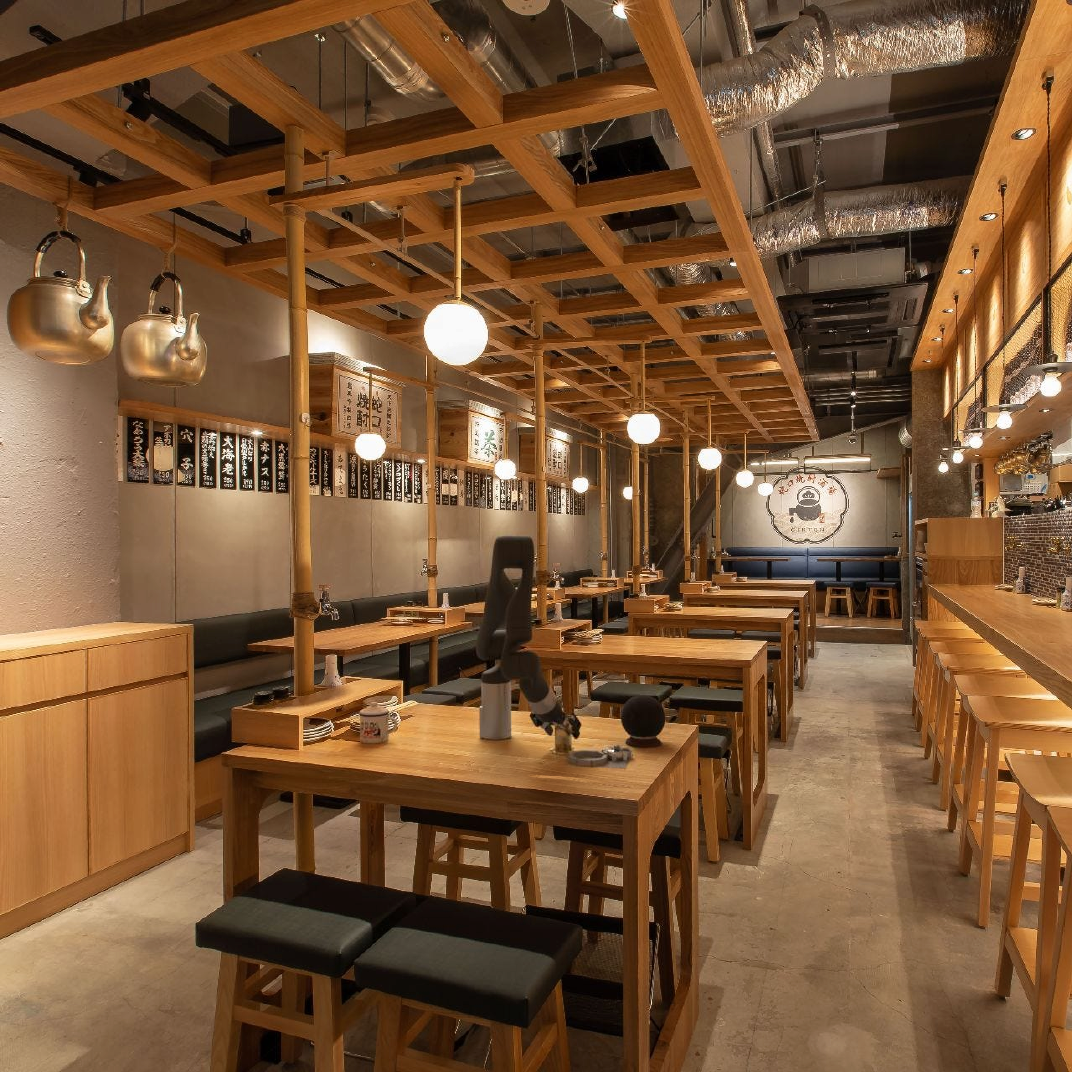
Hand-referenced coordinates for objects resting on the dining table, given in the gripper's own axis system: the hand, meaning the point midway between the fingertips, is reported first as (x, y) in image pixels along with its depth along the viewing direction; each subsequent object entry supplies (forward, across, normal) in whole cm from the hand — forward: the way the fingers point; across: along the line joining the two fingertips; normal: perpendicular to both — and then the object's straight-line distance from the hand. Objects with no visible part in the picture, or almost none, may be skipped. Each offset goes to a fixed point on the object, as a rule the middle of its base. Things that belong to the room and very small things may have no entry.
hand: (564, 734), depth 220 cm
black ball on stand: (+17, -17, -9) cm, 25 cm away
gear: (+4, -16, +3) cm, 17 cm away
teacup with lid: (-7, +57, +14) cm, 59 cm away
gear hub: (+3, 0, +4) cm, 5 cm away
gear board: (+1, -13, +6) cm, 14 cm away
